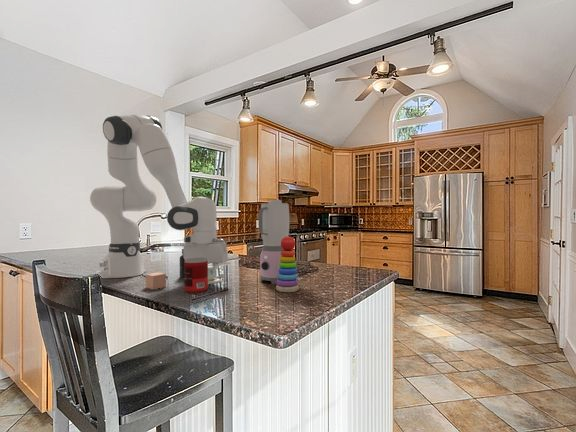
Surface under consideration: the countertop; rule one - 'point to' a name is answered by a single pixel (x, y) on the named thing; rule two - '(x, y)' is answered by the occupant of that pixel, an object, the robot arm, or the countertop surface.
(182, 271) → the supplement bottle
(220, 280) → the build plate
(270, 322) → the countertop surface
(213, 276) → the block
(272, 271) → the blender
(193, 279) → the canned food
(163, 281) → the block
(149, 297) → the countertop surface
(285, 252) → the stacking toy
